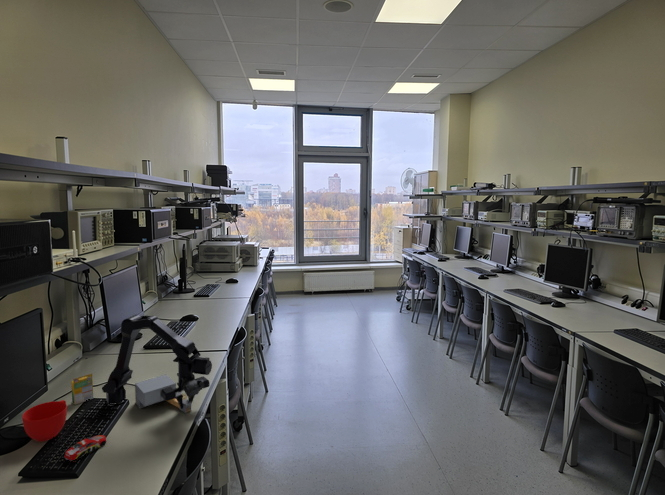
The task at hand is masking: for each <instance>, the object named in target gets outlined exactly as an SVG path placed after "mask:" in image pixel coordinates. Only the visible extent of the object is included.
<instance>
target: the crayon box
mask: <svg viewBox="0 0 665 495" xmlns="http://www.w3.org/2000/svg"><path fill="white" fill-rule="evenodd" d="M93 382H94V380H93V373H89V374H85V375H82V376H78V377H75V378H73V380H70V384H71V385H70V386H71V400H72V404H74V406H75V405H77V404H82V403H84V402H87V401H89V400H88V399H90V400H93V399H94V386H93V385H94V383H93ZM86 400H87V401H86Z"/></svg>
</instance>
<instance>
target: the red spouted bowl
mask: <svg viewBox="0 0 665 495" xmlns="http://www.w3.org/2000/svg"><path fill="white" fill-rule="evenodd" d="M67 412H68V406H67V401H66V400H64V399H61V400H59V401H56V400H55V401H53V400H52V401H48V402H46V401H45V402H43V403H40V404H37V405H34V406H32V407H30V408H28V409H27V410H26V411H24V412H23V413H22V417H21V418H22V425H23V428H24V432H25V434H26V435H27V436H28V437H29V438H30V439H32V440H34V441H36V442H37V443H38V442H39V443H42V442H46V441H50V440H52V439H54V438H56V436H58V434H59V433H60V432H61V430H62V429H63V428H64V426H65V424H66V419H67V415H68V414H67ZM53 437H54V438H53Z"/></svg>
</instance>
